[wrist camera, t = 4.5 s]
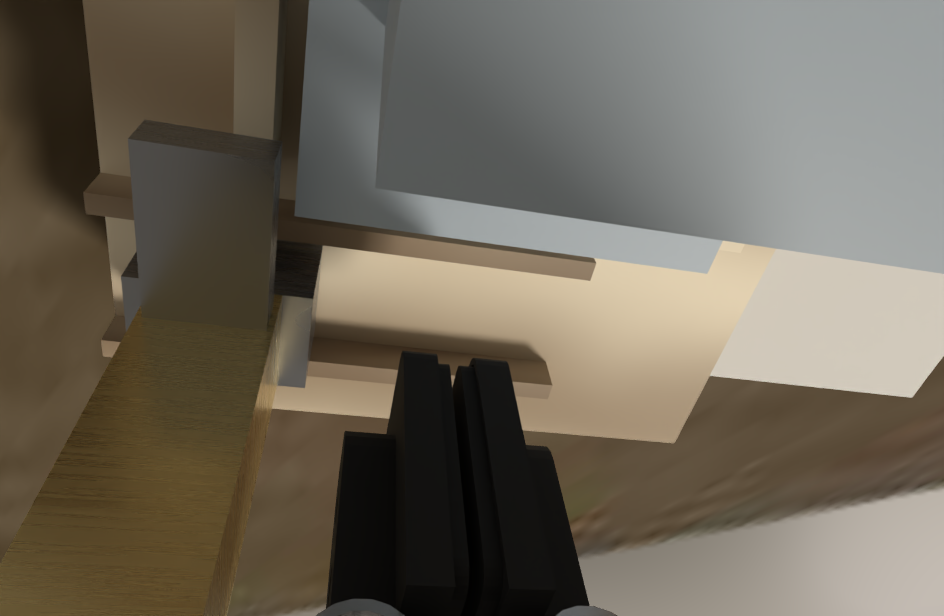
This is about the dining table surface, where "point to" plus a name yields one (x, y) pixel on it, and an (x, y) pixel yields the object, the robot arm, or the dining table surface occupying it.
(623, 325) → the tan box base
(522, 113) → the cover
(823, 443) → the dining table surface
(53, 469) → the latch
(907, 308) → the mat
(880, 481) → the dining table surface
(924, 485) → the dining table surface
